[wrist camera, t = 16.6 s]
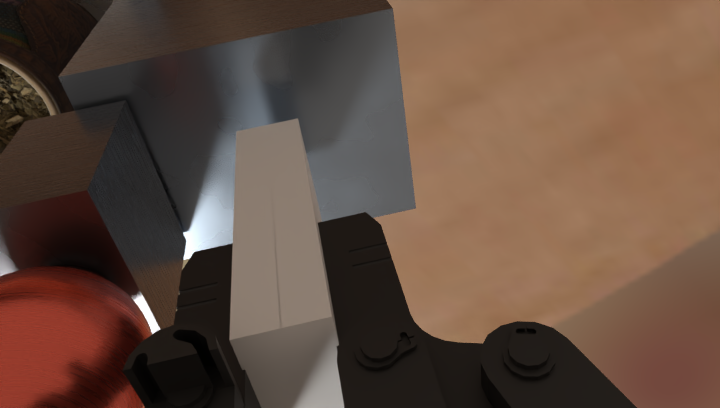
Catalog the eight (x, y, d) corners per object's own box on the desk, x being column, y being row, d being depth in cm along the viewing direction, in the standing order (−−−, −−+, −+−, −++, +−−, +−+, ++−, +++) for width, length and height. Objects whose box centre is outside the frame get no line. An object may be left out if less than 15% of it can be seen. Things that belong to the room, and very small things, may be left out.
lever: (81, 263, 16) (-31, 561, 9) (0, 126, 13) (-228, 408, 7) (207, 235, 16) (180, 510, 10) (150, 94, 13) (64, 341, 7)
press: (-6, 165, 31) (-192, 421, 18) (-155, -73, 24) (-641, 59, 11) (351, 90, 32) (423, 280, 19) (308, -160, 25) (375, -136, 12)
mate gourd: (18, 137, 29) (-77, 261, 20) (-84, -12, 24) (-257, 70, 16) (154, 96, 29) (112, 205, 20) (74, -61, 24) (-18, -4, 16)
